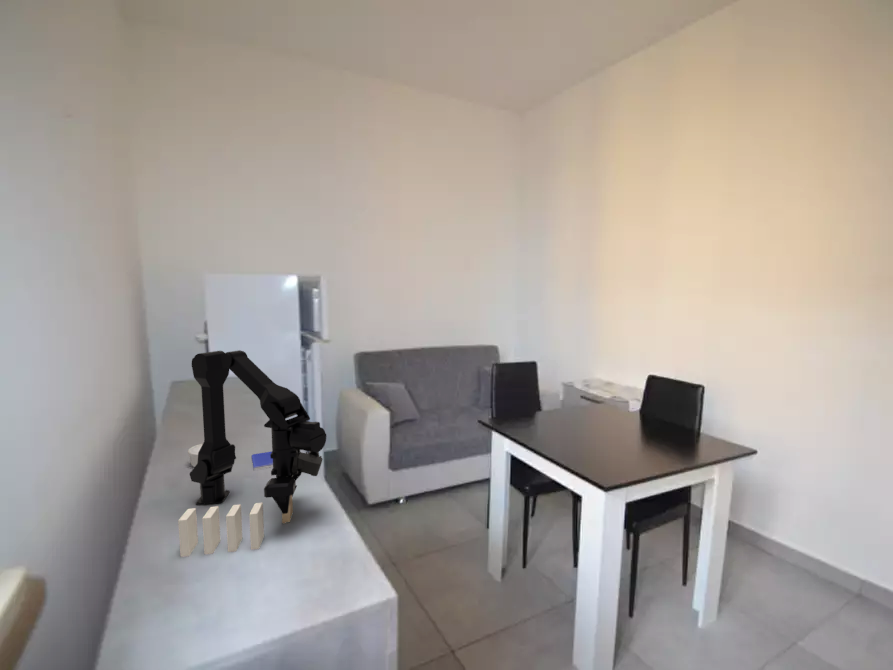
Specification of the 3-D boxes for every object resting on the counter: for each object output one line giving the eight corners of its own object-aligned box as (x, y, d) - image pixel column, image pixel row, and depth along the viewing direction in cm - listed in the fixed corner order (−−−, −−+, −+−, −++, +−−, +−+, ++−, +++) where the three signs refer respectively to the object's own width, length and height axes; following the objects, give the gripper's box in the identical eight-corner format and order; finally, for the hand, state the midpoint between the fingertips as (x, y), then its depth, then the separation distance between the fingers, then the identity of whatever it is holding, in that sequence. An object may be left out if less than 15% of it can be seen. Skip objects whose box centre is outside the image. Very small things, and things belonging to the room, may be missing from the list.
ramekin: (211, 471, 134) (210, 455, 134) (180, 468, 136) (179, 452, 136) (235, 458, 145) (234, 442, 145) (206, 455, 147) (205, 440, 147)
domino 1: (190, 543, 95) (187, 508, 95) (198, 542, 96) (195, 508, 95) (180, 557, 91) (178, 520, 90) (189, 556, 91) (186, 519, 90)
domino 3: (234, 539, 97) (233, 504, 96) (242, 538, 97) (240, 504, 97) (227, 552, 92) (226, 516, 91) (236, 551, 92) (234, 515, 92)
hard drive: (281, 462, 138) (277, 450, 149) (253, 467, 135) (251, 454, 146) (281, 467, 138) (277, 454, 149) (253, 472, 135) (251, 458, 146)
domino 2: (212, 541, 96) (210, 506, 95) (220, 540, 97) (218, 506, 96) (204, 554, 91) (202, 518, 91) (212, 553, 92) (210, 517, 91)
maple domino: (286, 512, 109) (285, 482, 108) (292, 512, 109) (291, 481, 108) (282, 523, 104) (281, 491, 103) (289, 522, 104) (288, 490, 103)
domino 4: (256, 537, 98) (255, 503, 97) (264, 536, 98) (262, 502, 97) (250, 549, 93) (249, 514, 92) (258, 549, 93) (257, 513, 93)
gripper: (315, 458, 97) (317, 524, 98) (323, 431, 115) (324, 488, 117) (262, 461, 95) (265, 529, 96) (279, 434, 113) (281, 491, 115)
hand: (287, 507), depth 106 cm, fingers closed on maple domino, 5 cm apart
